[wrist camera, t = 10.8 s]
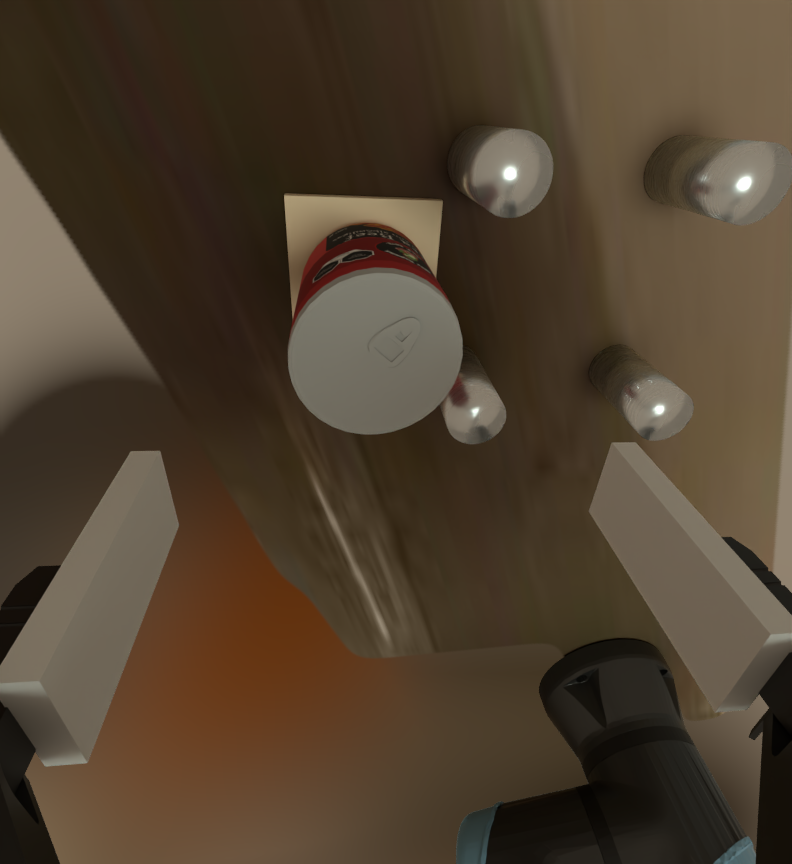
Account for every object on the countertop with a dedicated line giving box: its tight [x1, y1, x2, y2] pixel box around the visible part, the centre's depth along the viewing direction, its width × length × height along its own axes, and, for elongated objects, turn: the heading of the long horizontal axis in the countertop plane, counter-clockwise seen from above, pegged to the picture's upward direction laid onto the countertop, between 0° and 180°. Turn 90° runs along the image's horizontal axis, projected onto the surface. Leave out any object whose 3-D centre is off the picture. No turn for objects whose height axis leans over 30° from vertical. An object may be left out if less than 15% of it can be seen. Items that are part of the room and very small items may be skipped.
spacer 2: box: [439, 346, 506, 444], centre depth 33 cm, size 4×4×7 cm
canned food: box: [288, 223, 463, 434], centre depth 26 cm, size 8×8×11 cm
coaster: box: [284, 193, 443, 317], centre depth 31 cm, size 10×9×1 cm
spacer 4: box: [644, 136, 792, 225], centre depth 27 cm, size 4×4×7 cm
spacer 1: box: [447, 125, 553, 218], centre depth 26 cm, size 4×4×7 cm
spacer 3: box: [589, 345, 694, 441], centre depth 34 cm, size 4×4×7 cm
